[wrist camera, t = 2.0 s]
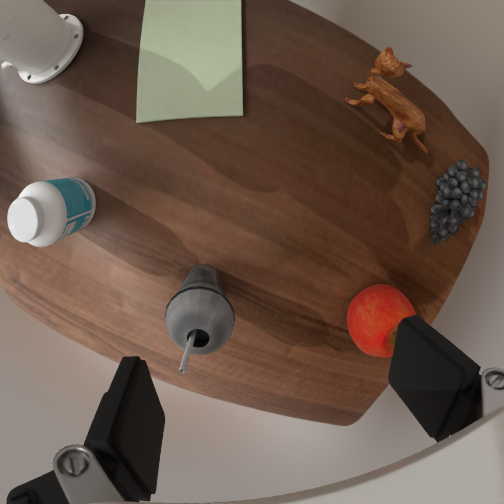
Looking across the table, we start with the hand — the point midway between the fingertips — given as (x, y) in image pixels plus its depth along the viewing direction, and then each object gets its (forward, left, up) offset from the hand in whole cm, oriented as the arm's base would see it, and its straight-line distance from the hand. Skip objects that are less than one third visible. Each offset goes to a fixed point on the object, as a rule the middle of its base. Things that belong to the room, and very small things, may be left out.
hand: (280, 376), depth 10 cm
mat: (-5, +25, -31) cm, 40 cm away
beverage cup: (-4, -8, -31) cm, 32 cm away
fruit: (+35, +3, -31) cm, 47 cm away
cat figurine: (+23, +16, -31) cm, 42 cm away
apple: (+22, -15, -31) cm, 40 cm away
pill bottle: (-22, +4, -31) cm, 38 cm away
